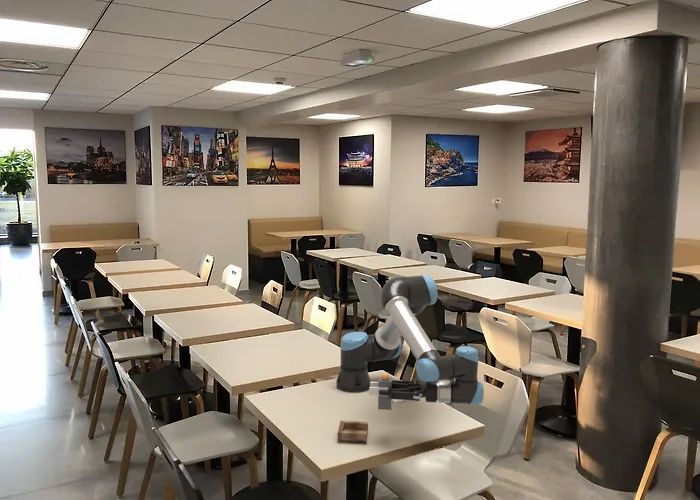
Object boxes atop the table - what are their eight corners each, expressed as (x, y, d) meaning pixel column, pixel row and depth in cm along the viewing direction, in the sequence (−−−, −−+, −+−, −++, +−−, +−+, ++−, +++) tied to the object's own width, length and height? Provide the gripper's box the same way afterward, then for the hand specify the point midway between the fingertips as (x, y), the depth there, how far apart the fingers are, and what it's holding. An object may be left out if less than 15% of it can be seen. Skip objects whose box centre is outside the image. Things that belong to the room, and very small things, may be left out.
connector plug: (391, 404, 200) (392, 371, 199) (391, 409, 196) (391, 376, 194) (378, 404, 200) (379, 371, 199) (378, 409, 196) (378, 375, 195)
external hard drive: (396, 391, 245) (412, 401, 234) (380, 394, 241) (395, 404, 231) (396, 387, 245) (412, 397, 234) (380, 390, 241) (395, 401, 230)
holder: (368, 431, 205) (368, 422, 205) (366, 443, 195) (366, 434, 195) (340, 429, 206) (340, 420, 205) (337, 442, 196) (337, 432, 196)
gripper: (438, 411, 187) (368, 408, 190) (435, 392, 205) (370, 389, 207) (439, 390, 187) (368, 387, 189) (436, 372, 204) (371, 369, 206)
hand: (369, 388), depth 198 cm, fingers closed on connector plug, 4 cm apart
